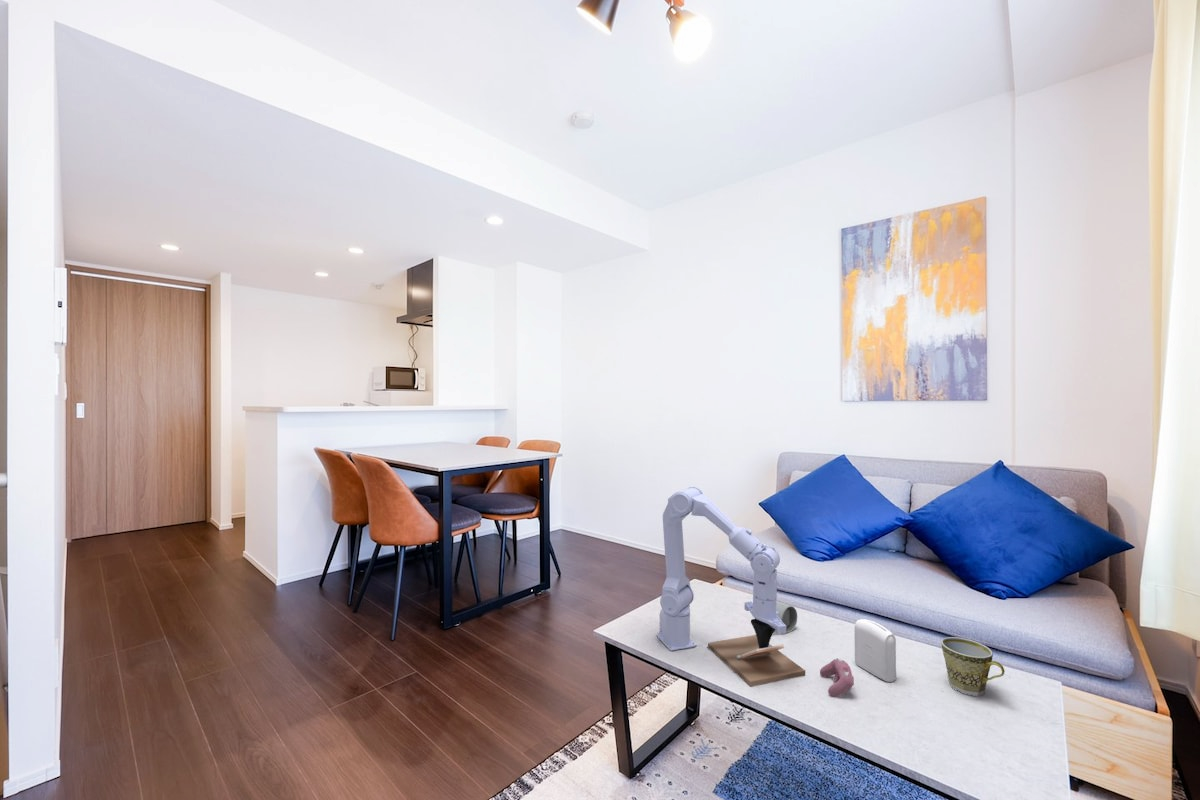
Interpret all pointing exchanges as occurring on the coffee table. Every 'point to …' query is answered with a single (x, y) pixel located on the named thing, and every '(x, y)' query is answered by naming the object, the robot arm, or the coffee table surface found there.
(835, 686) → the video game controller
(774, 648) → the hinged panel
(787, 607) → the ceramic mug
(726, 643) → the board
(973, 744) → the coffee table surface
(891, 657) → the photo printer
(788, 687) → the coffee table surface
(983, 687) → the ceramic cup
